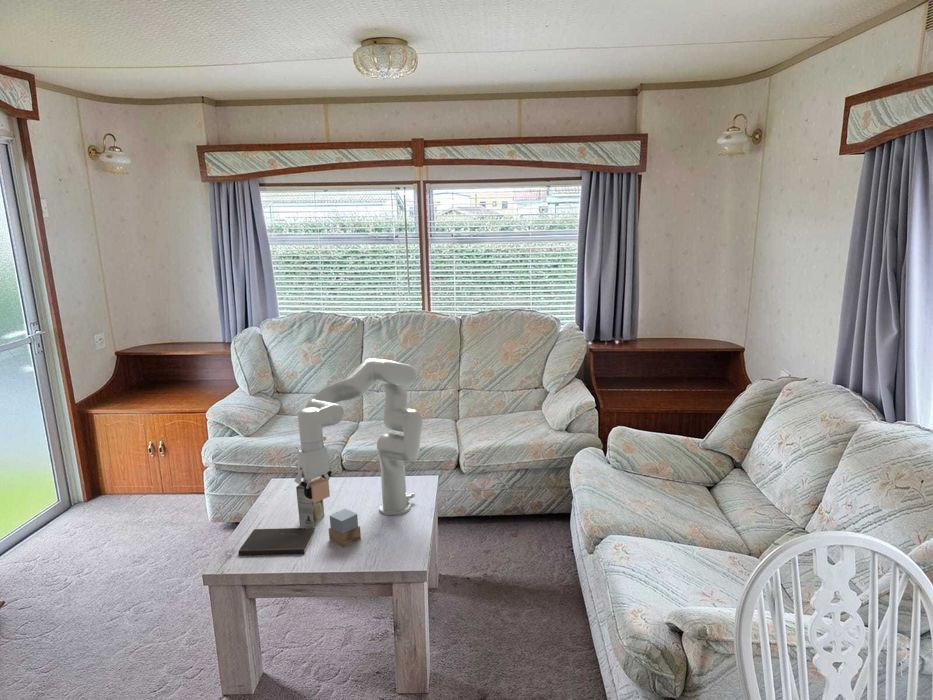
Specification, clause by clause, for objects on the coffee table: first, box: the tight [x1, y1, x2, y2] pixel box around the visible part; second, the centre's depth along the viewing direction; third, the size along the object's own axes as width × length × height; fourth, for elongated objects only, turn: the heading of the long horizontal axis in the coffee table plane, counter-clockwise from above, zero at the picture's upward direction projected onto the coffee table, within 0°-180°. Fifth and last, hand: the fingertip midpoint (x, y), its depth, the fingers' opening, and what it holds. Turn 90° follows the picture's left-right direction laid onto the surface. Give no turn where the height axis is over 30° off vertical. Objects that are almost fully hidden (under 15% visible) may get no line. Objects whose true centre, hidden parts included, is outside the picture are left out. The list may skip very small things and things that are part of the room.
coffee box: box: [295, 484, 325, 528], centre depth 230 cm, size 9×6×16 cm
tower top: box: [329, 508, 359, 534], centre depth 215 cm, size 7×7×5 cm
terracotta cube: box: [305, 476, 331, 503], centre depth 202 cm, size 6×6×6 cm
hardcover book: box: [237, 527, 316, 557], centre depth 215 cm, size 16×23×2 cm
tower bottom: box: [328, 525, 362, 548], centre depth 216 cm, size 8×8×5 cm
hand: (317, 493), depth 203 cm, fingers closed on terracotta cube, 6 cm apart
